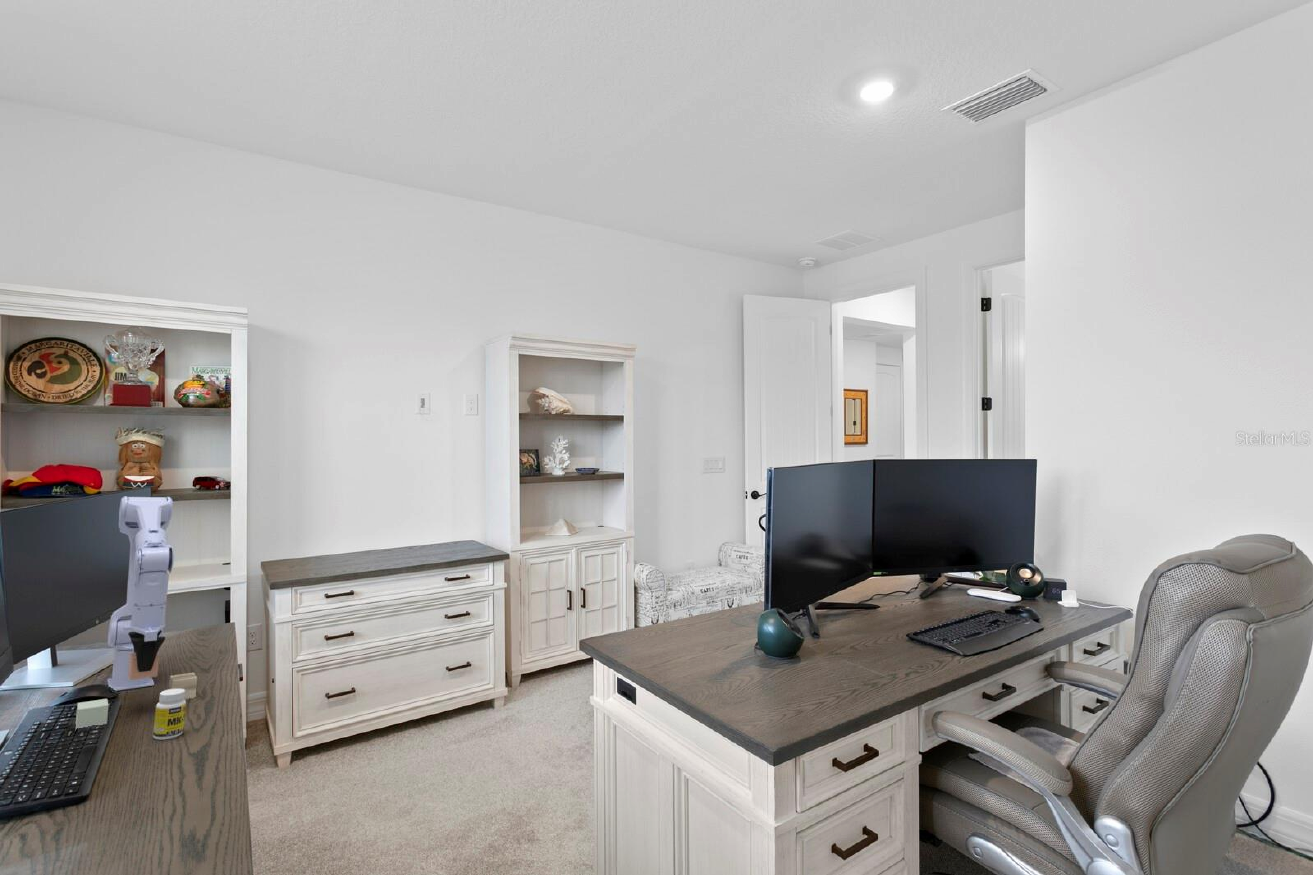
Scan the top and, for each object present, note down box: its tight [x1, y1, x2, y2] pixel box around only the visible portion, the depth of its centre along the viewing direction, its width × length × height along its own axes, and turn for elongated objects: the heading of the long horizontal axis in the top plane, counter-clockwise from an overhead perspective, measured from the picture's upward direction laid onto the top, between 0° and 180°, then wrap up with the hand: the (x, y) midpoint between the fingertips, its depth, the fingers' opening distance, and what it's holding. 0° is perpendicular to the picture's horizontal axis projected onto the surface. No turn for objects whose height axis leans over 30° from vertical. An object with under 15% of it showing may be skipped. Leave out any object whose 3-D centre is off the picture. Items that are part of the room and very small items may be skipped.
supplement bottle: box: [152, 688, 187, 741], centre depth 127 cm, size 5×5×8 cm
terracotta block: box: [128, 651, 160, 680], centre depth 139 cm, size 4×4×4 cm
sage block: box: [75, 698, 110, 730], centre depth 129 cm, size 4×4×4 cm
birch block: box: [168, 672, 198, 700], centre depth 147 cm, size 4×4×4 cm
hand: (143, 668), depth 139 cm, fingers closed on terracotta block, 4 cm apart
